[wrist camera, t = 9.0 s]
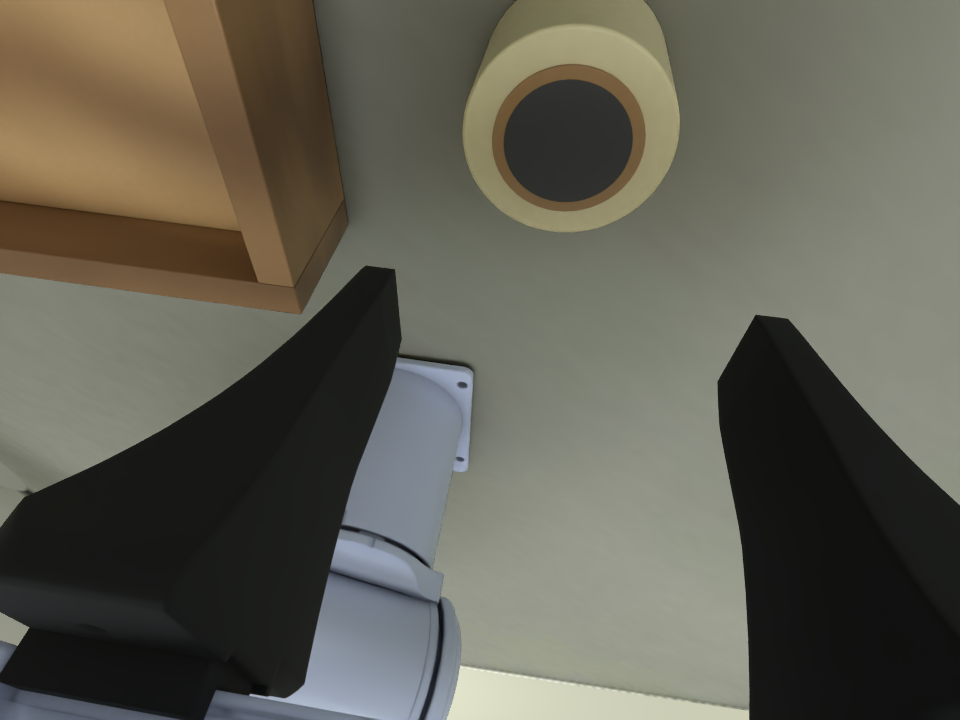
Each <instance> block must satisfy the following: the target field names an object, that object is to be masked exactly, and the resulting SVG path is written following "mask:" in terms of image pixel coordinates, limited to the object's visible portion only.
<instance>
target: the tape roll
mask: <svg viewBox="0 0 960 720" xmlns="http://www.w3.org/2000/svg"><path fill="white" fill-rule="evenodd" d="M679 131H680V112H679V106H678V101H677V95H676V91H675V86H674V81H673V76H672V71H671V66H670V62H669V57H668V52H667V47H666V42H665V38H664V35H663V32H662V29H661V26H660V24H659V22H658V20H657V18H656V16H655V15H654V13H653V12H652V10H651V9H650V7H649V6H648V5H647V4H646V3H645V2H644V0H516V1H515V2H514V3H513V5H512V6H511V7H510V8H509V9H508V10H507V11H506V12H505V14H504V15H503V17H502V18H501V20H500V21H499V22H498V24H497V26H496V28H495V30H494V32H493V34H492V36H491V39H490V41H489V44H488V47H487V50H486V52H485V55H484V58H483V60H482V63H481V66H480V68H479V71H478V74H477V76H476V79H475V82H474V84H473V87H472V90H471V92H470V95H469V98H468V100H467V103H466V107H465V112H464V116H463V127H462V137H463V147H464V153H465V157H466V161H467V164H468V167H469V169H470V172H471V174H472V176H473V178H474V180H475V182H476V183H477V185H478V186H479V188H480V190H481V191H482V192H483V193H484V195H485V196H486V197H487V198H488V199H489V201H491V202H492V203H493V204H494V205H495V206H496V207H497V208H498V209H499V210H501V211H502V212H503V213H505V214H506V215H507V216H509V217H511V218H513V219H514V220H516V221H518V222H520V223H523V224H525V225H527V226H530V227H534V228H537V229H540V230H546V231H551V232H580V231H586V230H591V229H595V228H599V227H602V226H605V225H607V224H610V223H612V222H614V221H616V220H618V219H620V218H622V217H624V216H626V215H627V214H629V213H630V212H632V211H633V210H635V209H636V208H637V207H638V206H639V205H641V204H642V203H643V202H644V201H645V200H646V199H647V198H648V197H649V196H650V195H651V194H652V193H653V192H654V191H655V189H656V188H657V187H658V185H659V184H660V183H661V181H662V180H663V178H664V176H665V175H666V173H667V171H668V169H669V168H670V165H671V163H672V160H673V158H674V155H675V152H676V148H677V144H678V139H679Z"/></svg>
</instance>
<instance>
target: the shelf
mask: <svg viewBox="0 0 960 720" xmlns="http://www.w3.org/2000/svg"><path fill="white" fill-rule="evenodd" d="M347 226H348V220H347V214H346V208H345V201H344V195H343V189H342V183H341V176H340V170H339V164H338V158H337V151H336V145H335V139H334V133H333V126H332V120H331V114H330V108H329V101H328V95H327V89H326V83H325V76H324V70H323V64H322V58H321V52H320V45H319V39H318V33H317V27H316V20H315V14H314V8H313V2H312V0H0V273H4V274H11V275H18V276H25V277H33V278H40V279H47V280H54V281H62V282H69V283H76V284H83V285H91V286H98V287H105V288H112V289H120V290H127V291H134V292H141V293H149V294H156V295H163V296H170V297H178V298H185V299H192V300H199V301H206V302H214V303H221V304H228V305H235V306H243V307H250V308H257V309H264V310H272V311H279V312H286V313H293V314H302V312H303V310H304V308H305V307H306V305H307V303H308V301H309V299H310V297H311V295H312V293H313V291H314V289H315V287H316V286H317V284H318V282H319V280H320V278H321V276H322V274H323V272H324V270H325V268H326V266H327V265H328V263H329V261H330V259H331V257H332V255H333V253H334V251H335V249H336V247H337V245H338V244H339V242H340V240H341V238H342V236H343V234H344V232H345V230H346V228H347Z"/></svg>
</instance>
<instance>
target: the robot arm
mask: <svg viewBox="0 0 960 720" xmlns="http://www.w3.org/2000/svg"><path fill="white" fill-rule="evenodd" d="M401 339H402V338H401V328H400V317H399V307H398V296H397V286H396V276H395V269H388V268H380V267H372V266H365V267H364V268H362V269H361V270H360V271H359V272H358V273H357V274H356V275H355V276H354V277H353V278H352V279H351V280H350V281H349V282H348V283H347V284H346V285H345V286H344V287H343V289H342V290H341V291H340V292H339V293H338V294H337V295H336V296H335V297H334V298H333V299H332V300H331V301H330V302H329V303H328V304H327V305H326V306H325V307H324V308H323V309H322V310H320V311H319V312H318V313H317V314H316V315H315V316H314V317H313V318H312V319H311V320H310V321H309V322H308V323H307V324H306V325H305V326H303V327H302V328H301V329H300V330H299V331H298V332H297V333H296V334H295V335H294V336H293V337H291V338H290V339H289V340H288V341H287V342H286V343H284V344H283V345H282V346H281V347H280V348H279V349H277V350H276V351H275V352H274V353H273V354H271V355H270V356H269V357H268V358H267V359H266V360H264V361H263V362H262V363H261V364H259V365H258V366H257V367H256V368H254V369H253V370H252V371H250V372H249V373H248V374H247V375H245V376H244V377H243V378H241V379H240V380H238V381H237V382H236V383H234V384H233V385H232V386H230V387H229V388H227V389H226V390H225V391H223V392H222V393H220V394H219V395H217V396H216V397H214V398H213V399H211V400H210V401H208V402H207V403H205V404H204V405H202V406H200V407H199V408H197V409H196V410H194V411H192V412H191V413H189V414H188V415H186V416H184V417H183V418H181V419H180V420H178V421H176V422H175V423H173V424H171V425H170V426H168V427H166V428H165V429H163V430H161V431H159V432H158V433H156V434H154V435H152V436H150V437H149V438H147V439H145V440H143V441H141V442H140V443H138V444H136V445H134V446H132V447H130V448H128V449H126V450H124V451H122V452H120V453H118V454H117V455H115V456H113V457H111V458H109V459H107V460H105V461H103V462H101V463H99V464H97V465H95V466H93V467H90V468H88V469H86V470H84V471H82V472H79V473H77V474H75V475H73V476H71V477H68V478H66V479H64V480H62V481H60V482H58V483H55V484H53V485H51V486H49V487H47V488H44V489H42V490H40V491H38V492H35V493H33V494H31V495H28V496H26V497H24V498H23V499H22V501H21V502H20V503H19V504H18V505H17V507H16V508H15V509H14V510H13V512H12V513H11V515H10V516H9V517H8V518H7V519H6V521H5V522H4V523H3V525H2V526H1V527H0V612H1V613H3V614H5V615H7V616H9V617H11V618H13V619H15V620H16V621H18V622H20V623H22V624H24V625H26V626H28V627H30V628H29V629H28V631H27V633H26V634H25V636H24V637H23V639H22V640H21V642H20V643H19V645H18V646H16V645H13V644H10V643H7V642H3V641H0V720H446V719H447V716H448V713H449V710H450V707H451V704H452V701H453V697H454V694H455V689H456V685H457V680H458V675H459V668H460V660H461V631H460V626H459V622H458V620H457V617H456V614H455V610H454V607H453V605H452V603H451V602H450V601H449V600H448V599H447V598H445V597H442V596H440V594H441V589H442V584H443V578H444V575H443V574H442V573H440V572H437V571H435V570H432V569H433V564H434V559H435V554H436V549H437V545H438V540H439V535H440V530H441V525H442V520H443V515H444V510H445V505H446V501H447V496H448V491H449V486H450V481H451V476H452V471H458V472H464V471H466V470H467V469H468V464H469V447H470V429H471V411H472V393H473V372H472V371H471V370H470V369H469V368H467V367H462V366H455V365H448V364H441V363H434V362H427V361H420V360H413V359H406V358H399V357H397V356H398V352H399V348H400V344H401ZM718 409H719V425H720V431H721V437H722V443H723V448H724V453H725V458H726V464H727V469H728V474H729V479H730V484H731V489H732V494H733V499H734V504H735V509H736V514H737V519H738V524H739V530H740V537H741V544H742V553H743V565H744V577H745V589H746V606H747V624H748V646H749V687H750V704H749V715H750V716H749V720H960V505H959V504H958V503H956V502H955V501H954V500H953V499H952V498H951V497H950V496H949V495H948V494H947V493H946V492H945V491H943V490H942V489H941V488H940V487H939V486H938V485H937V484H936V483H935V482H934V481H933V480H932V479H930V478H929V477H928V476H927V475H926V474H925V473H924V472H923V471H922V470H921V469H920V468H919V467H918V466H917V465H916V464H915V463H914V462H913V461H912V460H911V459H910V458H909V457H908V456H907V455H906V454H905V453H904V452H903V451H902V450H901V449H900V448H899V447H898V446H897V445H896V444H895V443H894V442H893V441H892V439H891V438H890V437H889V436H888V435H887V434H886V433H885V432H884V431H883V430H882V429H881V428H880V427H879V426H878V425H877V423H876V422H875V421H874V420H873V419H872V418H871V417H870V416H869V415H868V413H867V412H866V411H865V410H864V409H863V408H862V407H861V406H860V404H859V403H858V402H857V401H856V400H855V399H854V397H853V396H852V395H851V394H850V393H849V392H848V390H847V389H846V388H845V387H844V386H843V384H842V383H841V382H840V381H839V380H838V378H837V377H836V376H835V375H834V374H833V372H832V371H831V370H830V369H829V368H828V366H827V365H826V364H825V363H824V361H823V360H822V359H821V358H820V357H819V355H818V354H817V353H816V352H815V350H814V349H813V348H812V347H811V346H810V344H809V343H808V342H807V341H806V339H805V338H804V337H803V336H802V335H801V333H800V332H799V331H798V330H797V329H796V327H795V326H794V325H793V324H792V323H791V322H790V321H789V320H788V319H785V318H777V317H769V316H761V315H755V317H754V319H753V321H752V322H751V324H750V326H749V328H748V329H747V331H746V333H745V334H744V336H743V338H742V340H741V341H740V343H739V345H738V347H737V348H736V350H735V352H734V354H733V355H732V357H731V359H730V361H729V362H728V364H727V366H726V368H725V369H724V371H723V373H722V375H721V376H720V378H719V380H718Z"/></svg>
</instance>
